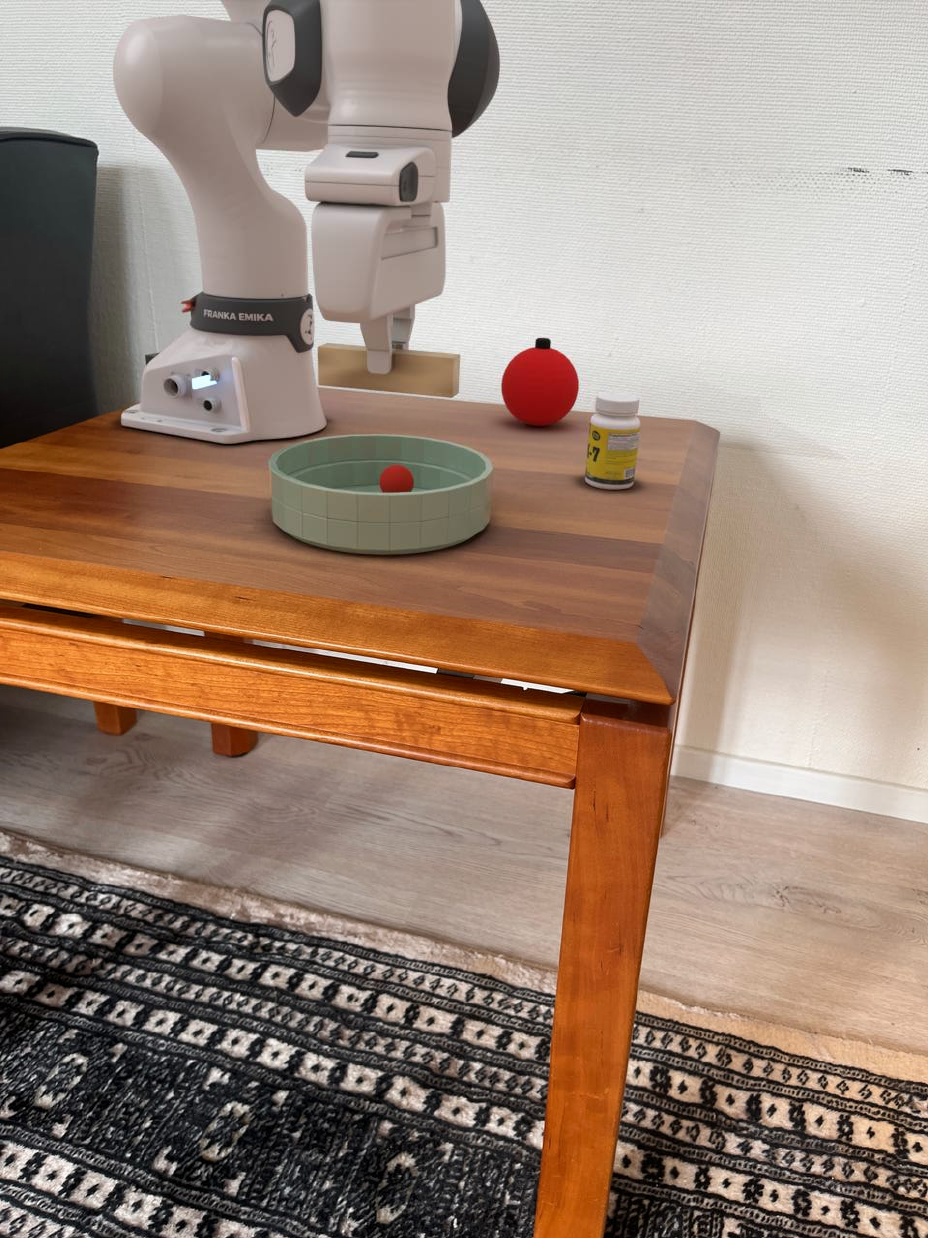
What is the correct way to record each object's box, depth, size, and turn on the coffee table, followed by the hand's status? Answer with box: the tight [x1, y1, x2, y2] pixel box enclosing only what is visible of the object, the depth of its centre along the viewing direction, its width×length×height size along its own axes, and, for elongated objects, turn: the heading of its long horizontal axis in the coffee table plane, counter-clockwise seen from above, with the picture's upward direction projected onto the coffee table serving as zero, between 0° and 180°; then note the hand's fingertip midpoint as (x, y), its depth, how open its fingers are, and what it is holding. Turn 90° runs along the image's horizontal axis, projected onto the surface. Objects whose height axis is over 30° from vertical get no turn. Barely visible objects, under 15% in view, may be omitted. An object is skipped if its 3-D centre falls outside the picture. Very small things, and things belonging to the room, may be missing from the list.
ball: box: [379, 465, 414, 493], centre depth 86 cm, size 3×3×3 cm
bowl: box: [267, 433, 494, 556], centre depth 82 cm, size 18×18×5 cm
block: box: [317, 342, 461, 399], centre depth 77 cm, size 11×2×3 cm, turn 75°
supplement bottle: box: [584, 391, 641, 491], centre depth 94 cm, size 5×5×8 cm
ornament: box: [500, 337, 580, 427], centre depth 114 cm, size 9×9×10 cm
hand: (388, 368), depth 77 cm, fingers closed on block, 2 cm apart
